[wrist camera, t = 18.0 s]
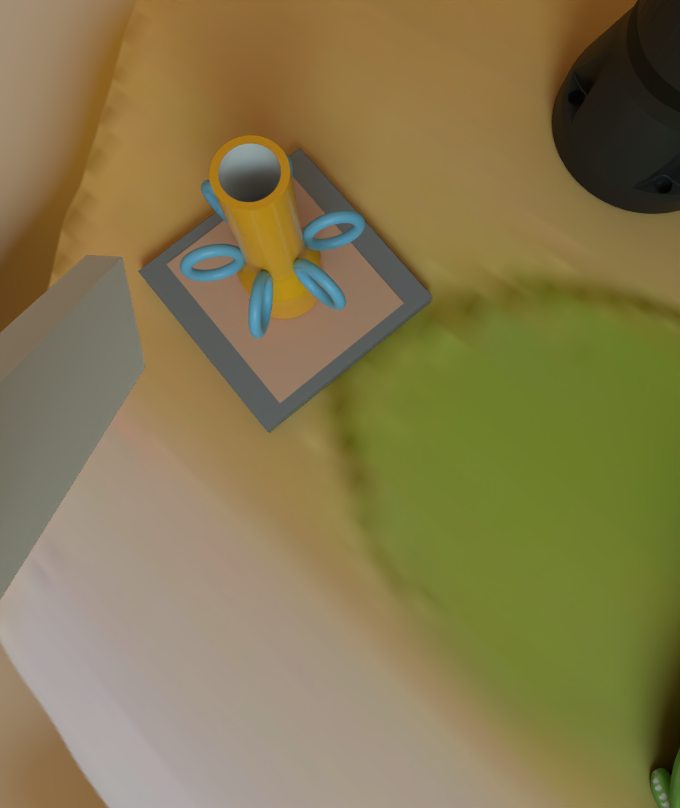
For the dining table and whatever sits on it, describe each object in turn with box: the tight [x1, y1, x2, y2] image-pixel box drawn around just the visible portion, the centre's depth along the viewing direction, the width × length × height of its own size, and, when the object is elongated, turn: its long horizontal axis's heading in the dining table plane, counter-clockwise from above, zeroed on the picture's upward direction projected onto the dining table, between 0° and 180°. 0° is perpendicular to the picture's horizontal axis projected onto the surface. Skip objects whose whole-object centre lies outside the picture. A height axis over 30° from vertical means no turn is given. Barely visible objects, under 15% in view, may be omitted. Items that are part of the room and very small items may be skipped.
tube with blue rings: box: [180, 135, 365, 338], centre depth 35 cm, size 12×10×15 cm
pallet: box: [138, 148, 432, 433], centre depth 43 cm, size 16×16×1 cm
